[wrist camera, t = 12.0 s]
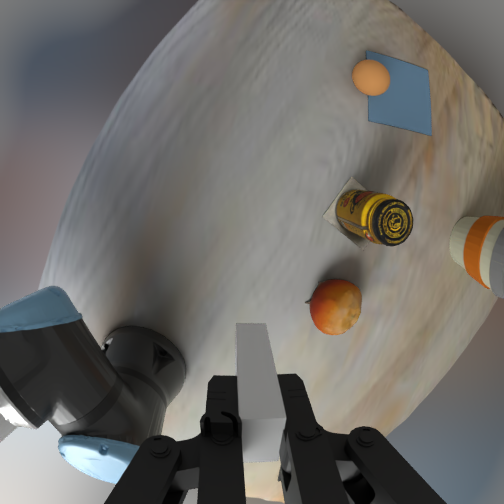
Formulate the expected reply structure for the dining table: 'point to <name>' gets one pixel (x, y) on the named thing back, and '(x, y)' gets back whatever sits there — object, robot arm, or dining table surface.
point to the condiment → (369, 216)
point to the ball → (371, 77)
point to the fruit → (335, 306)
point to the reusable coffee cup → (481, 250)
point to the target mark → (402, 96)
